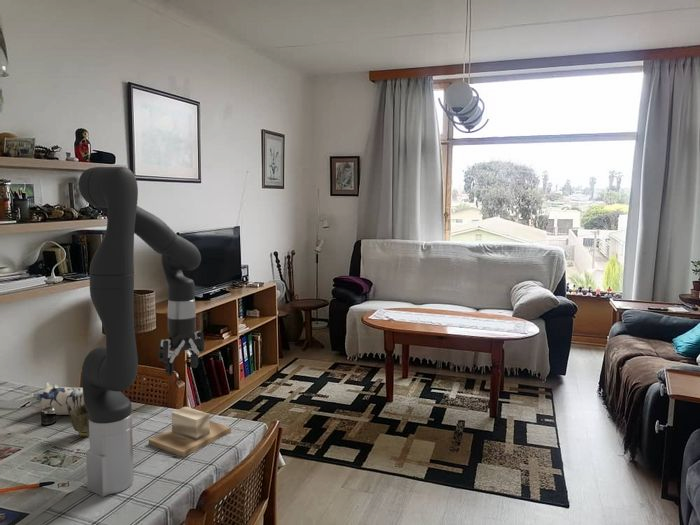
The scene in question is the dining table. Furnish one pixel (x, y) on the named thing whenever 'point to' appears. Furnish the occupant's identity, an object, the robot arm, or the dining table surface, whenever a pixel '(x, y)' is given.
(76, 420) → the cup
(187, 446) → the oak board
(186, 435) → the block
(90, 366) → the robot arm
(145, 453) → the dining table surface
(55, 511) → the dining table surface
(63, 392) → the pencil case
